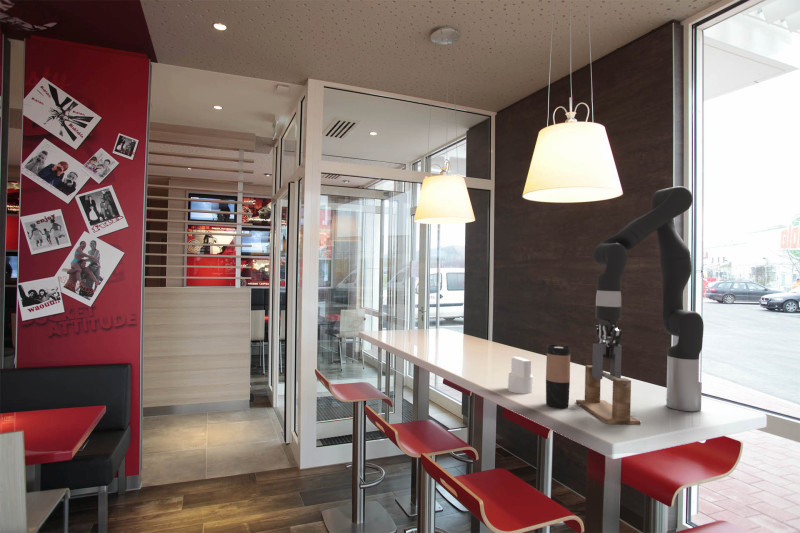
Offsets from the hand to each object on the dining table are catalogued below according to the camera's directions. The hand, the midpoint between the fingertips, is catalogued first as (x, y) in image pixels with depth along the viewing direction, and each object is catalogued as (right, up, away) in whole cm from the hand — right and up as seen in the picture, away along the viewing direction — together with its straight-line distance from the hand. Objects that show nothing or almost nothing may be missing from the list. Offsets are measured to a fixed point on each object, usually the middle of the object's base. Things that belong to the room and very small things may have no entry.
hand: (606, 357), depth 147 cm
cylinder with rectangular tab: (-21, -18, +25) cm, 37 cm away
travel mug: (-14, -18, +6) cm, 23 cm away
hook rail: (-1, -18, 0) cm, 18 cm away
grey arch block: (0, -7, 0) cm, 7 cm away
